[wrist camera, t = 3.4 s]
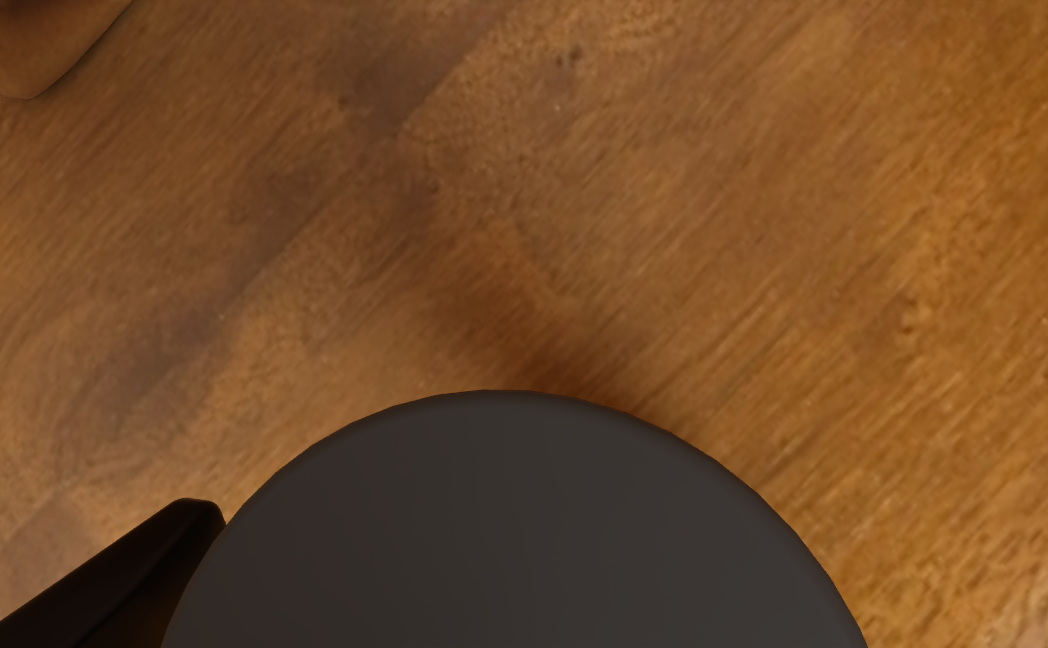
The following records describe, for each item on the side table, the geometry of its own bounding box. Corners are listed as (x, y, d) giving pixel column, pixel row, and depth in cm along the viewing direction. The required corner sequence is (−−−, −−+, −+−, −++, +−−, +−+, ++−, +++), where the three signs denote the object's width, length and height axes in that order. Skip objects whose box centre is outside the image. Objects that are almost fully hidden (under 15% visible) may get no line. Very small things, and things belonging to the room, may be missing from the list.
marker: (792, 548, 16) (1121, 910, 3) (651, 662, 16) (418, 1444, 3) (671, 406, 17) (541, 236, 4) (538, 517, 17) (4, 696, 4)
